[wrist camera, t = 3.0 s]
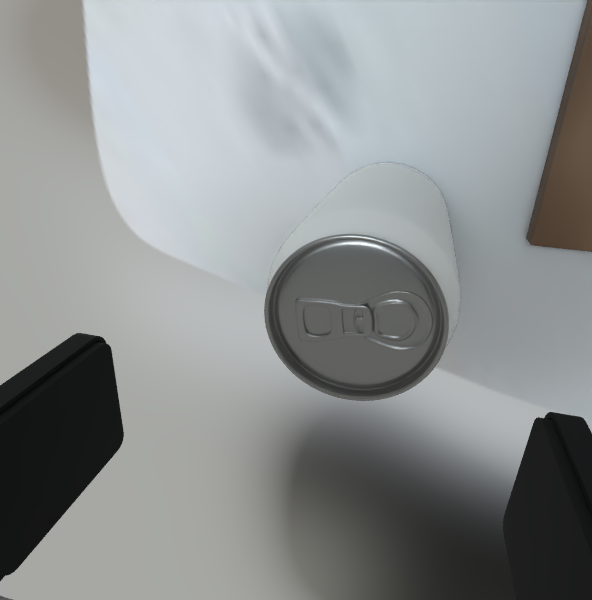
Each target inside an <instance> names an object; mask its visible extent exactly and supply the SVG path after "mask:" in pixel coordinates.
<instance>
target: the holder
mask: <svg viewBox="0 0 592 600" xmlns="http://www.w3.org/2000/svg"><path fill="white" fill-rule="evenodd" d="M526 239H527V240H528V242H529V243H530V245H534V246H543V247H553V248H562V249H572V250H581V251H591V252H592V0H588V1H587V5H586V9H585V13H584V17H583V20H582V24H581V28H580V32H579V36H578V40H577V44H576V48H575V51H574V55H573V59H572V63H571V67H570V71H569V75H568V78H567V82H566V86H565V90H564V94H563V98H562V102H561V106H560V109H559V113H558V117H557V121H556V125H555V129H554V133H553V136H552V140H551V144H550V148H549V152H548V156H547V160H546V164H545V167H544V171H543V175H542V179H541V183H540V187H539V191H538V194H537V198H536V202H535V206H534V210H533V214H532V218H531V222H530V225H529V229H528V233H527V237H526Z"/></svg>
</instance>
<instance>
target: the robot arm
mask: <svg viewBox="0 0 592 600" xmlns="http://www.w3.org/2000/svg"><path fill="white" fill-rule="evenodd" d="M123 437H124V432H123V425H122V419H121V412H120V405H119V399H118V392H117V385H116V379H115V372H114V365H113V358H112V351H111V347H110V346H109V345H108V344H106V342H105V340H104V338H102V337H100V336H94V335H88V334H82V333H77V334H75V335H73V336H71V337H70V338H68V339H67V340H65V341H64V342H63V343H61V344H60V345H58V346H57V347H56V348H54V349H52V350H51V351H49V352H48V353H47V354H45V355H44V356H42V357H41V358H39V359H38V360H36V361H35V362H34V363H32V364H31V365H29V366H28V367H26V368H25V369H23V370H22V371H20V372H19V373H18V374H16V375H15V376H13V377H12V378H11V379H9V380H7V381H6V382H5V383H3V384H2V385H0V581H1V580H2V579H3V577H4V576H5V575H10V574H11V573H13V572H14V571H15V570H16V569H17V568H18V567H19V566H20V565H21V564H22V562H23V561H24V560H25V559H26V558H27V556H28V555H29V554H30V553H31V552H32V551H33V550H34V548H35V547H36V546H37V545H38V544H39V542H40V541H41V540H42V539H43V537H45V535H46V534H47V533H48V532H49V531H50V530H51V528H52V527H53V526H54V525H55V524H56V522H57V521H58V520H59V519H60V518H61V517H62V515H63V514H64V513H65V512H66V511H67V509H68V508H69V507H70V506H71V505H72V503H73V502H74V501H75V500H76V499H77V498H78V497H79V495H80V494H81V493H82V492H83V491H84V489H85V488H86V487H87V486H88V485H89V484H90V482H91V481H92V480H93V479H94V478H95V477H96V475H97V474H98V473H99V472H100V471H101V470H102V468H103V467H104V466H105V465H106V464H107V462H108V461H109V460H110V459H111V458H112V457H113V455H114V454H115V453H116V452H117V451H118V449H119V448H120V446H121V444H122V441H123ZM503 532H504V538H505V544H506V548H507V554H508V559H509V564H510V569H511V574H512V580H513V585H514V590H515V595H516V600H592V433H591V431H590V429H589V427H588V425H587V423H586V421H585V420H584V419H583V418H581V417H577V416H571V415H566V414H560V413H554V412H549V413H548V414H547V415H546V416H545V418H536V419H535V421H534V423H533V426H532V430H531V433H530V436H529V439H528V442H527V445H526V448H525V451H524V455H523V458H522V461H521V464H520V467H519V471H518V474H517V477H516V480H515V483H514V486H513V489H512V492H511V496H510V499H509V502H508V505H507V508H506V511H505V515H504V521H503ZM0 600H12V599H8V598H5V597H2V596H0Z"/></svg>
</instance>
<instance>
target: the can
mask: <svg viewBox="0 0 592 600" xmlns="http://www.w3.org/2000/svg"><path fill="white" fill-rule="evenodd" d="M459 310H460V284H459V276H458V269H457V263H456V257H455V250H454V244H453V238H452V233H451V227H450V221H449V216H448V212H447V208H446V204H445V201H444V199H443V196H442V194H441V193H440V191H439V189H438V188H437V187H436V185H435V184H434V183H433V182H432V181H431V180H430V179H429V178H428V177H427V176H425V175H424V174H423V173H421V172H420V171H418V170H416V169H414V168H412V167H409V166H406V165H403V164H398V163H376V164H372V165H368V166H365V167H363V168H360V169H358V170H356V171H354V172H353V173H351V174H350V175H348V176H347V177H346V178H345V179H344V180H342V181H341V182H340V183H339V184H338V185H337V186H336V187H335V188H334V189H333V190H332V191H331V192H330V193H329V194H328V195H327V196H326V197H325V198H324V199H323V200H322V201H321V202H320V203H319V204H318V206H317V207H316V208H315V209H314V210H313V211H312V212H311V213H310V214H309V215H308V216H307V217H306V218H305V219H304V220H303V221H302V222H301V223H300V224H299V226H298V227H297V228H296V229H295V230H294V231H293V232H292V233H291V235H290V236H289V237H288V238H287V239H286V241H285V242H284V244H283V245H282V246H281V248H280V250H279V252H278V253H277V255H276V257H275V259H274V262H273V264H272V267H271V271H270V275H269V280H268V290H267V294H266V299H265V309H264V312H265V313H264V314H265V323H266V329H267V332H268V335H269V339H270V341H271V343H272V346H273V348H274V350H275V351H276V353H277V354H278V356H279V358H280V359H281V360H282V361H283V363H284V364H285V365H286V366H287V368H288V369H289V370H290V371H291V372H292V373H293V374H295V375H296V376H297V377H298V378H299V379H301V380H302V381H303V382H305V383H306V384H308V385H310V386H311V387H313V388H315V389H317V390H319V391H321V392H323V393H326V394H328V395H331V396H335V397H338V398H343V399H349V400H357V401H358V400H359V401H369V400H379V399H384V398H389V397H392V396H395V395H398V394H401V393H403V392H405V391H407V390H409V389H410V388H412V387H414V386H415V385H417V384H418V383H420V382H421V381H422V380H423V379H424V378H425V377H427V376H428V374H429V373H430V372H431V371H432V370H433V369H434V367H435V366H436V365H437V363H438V362H439V360H440V358H441V356H442V354H443V352H444V349H445V347H446V346H447V344H448V343H449V341H450V339H451V337H452V335H453V333H454V330H455V328H456V325H457V321H458V317H459Z"/></svg>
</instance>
